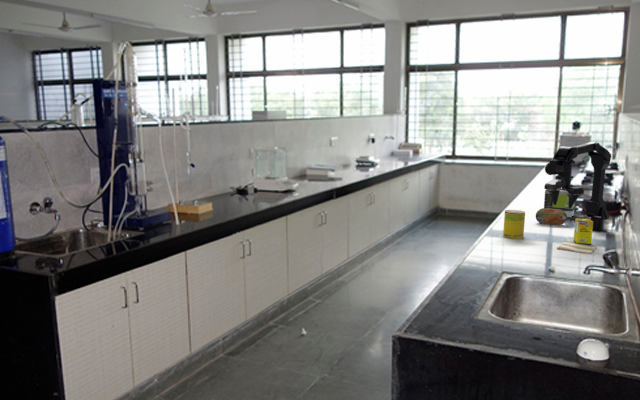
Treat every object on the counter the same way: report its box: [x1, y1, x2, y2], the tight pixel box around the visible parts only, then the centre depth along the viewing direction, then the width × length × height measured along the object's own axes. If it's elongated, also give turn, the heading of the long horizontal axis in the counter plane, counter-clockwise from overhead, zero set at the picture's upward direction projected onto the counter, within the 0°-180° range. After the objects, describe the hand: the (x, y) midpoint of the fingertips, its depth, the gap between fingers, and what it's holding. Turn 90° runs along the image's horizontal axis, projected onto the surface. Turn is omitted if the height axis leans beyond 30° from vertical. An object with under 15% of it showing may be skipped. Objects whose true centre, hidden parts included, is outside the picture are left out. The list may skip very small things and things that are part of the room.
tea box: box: [543, 189, 576, 218], centre depth 295 cm, size 15×10×15 cm, turn 58°
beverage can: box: [502, 209, 526, 240], centre depth 244 cm, size 9×9×12 cm
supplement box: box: [572, 218, 593, 246], centre depth 232 cm, size 6×6×11 cm
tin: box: [535, 207, 568, 226], centre depth 272 cm, size 15×3×8 cm, turn 68°
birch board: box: [556, 241, 597, 255], centre depth 224 cm, size 13×13×1 cm
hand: (562, 206), depth 244 cm, fingers open, 9 cm apart
